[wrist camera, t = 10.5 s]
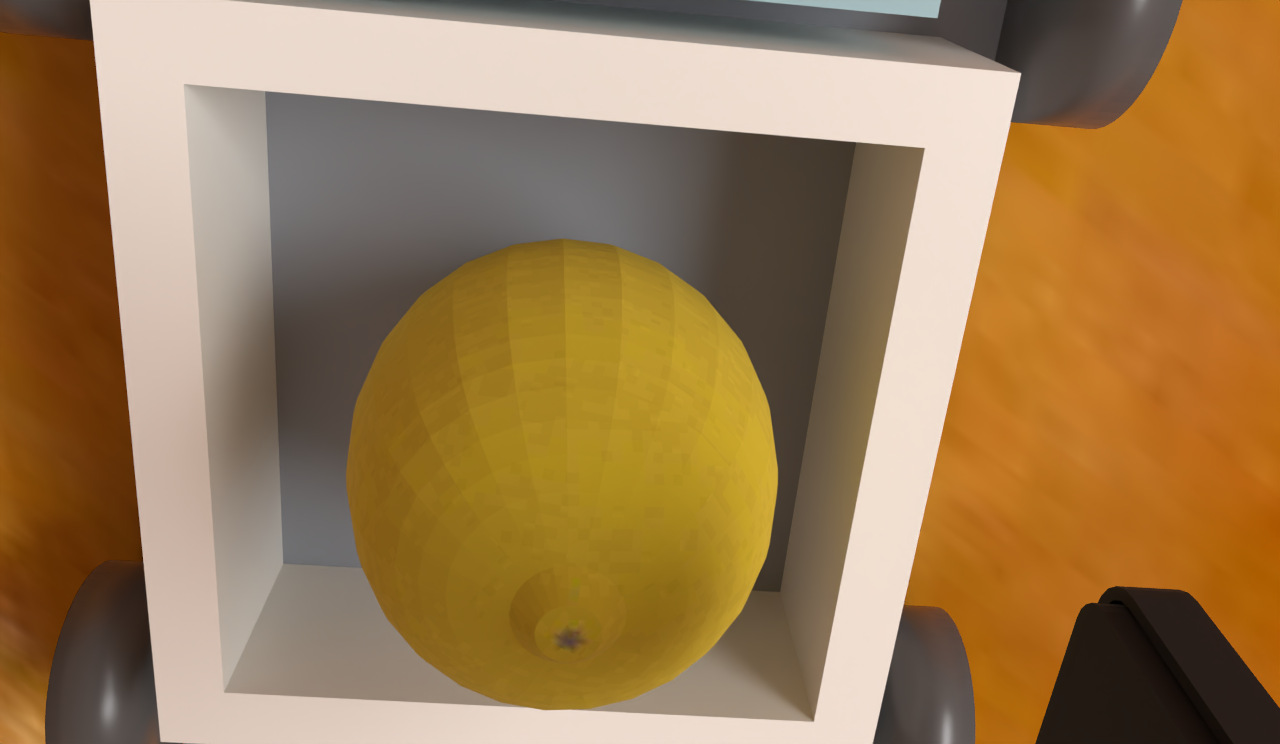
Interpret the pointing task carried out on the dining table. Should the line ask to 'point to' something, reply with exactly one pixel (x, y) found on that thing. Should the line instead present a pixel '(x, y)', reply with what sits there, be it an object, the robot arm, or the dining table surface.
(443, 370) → the lemon
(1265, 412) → the dining table surface
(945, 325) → the chassis
